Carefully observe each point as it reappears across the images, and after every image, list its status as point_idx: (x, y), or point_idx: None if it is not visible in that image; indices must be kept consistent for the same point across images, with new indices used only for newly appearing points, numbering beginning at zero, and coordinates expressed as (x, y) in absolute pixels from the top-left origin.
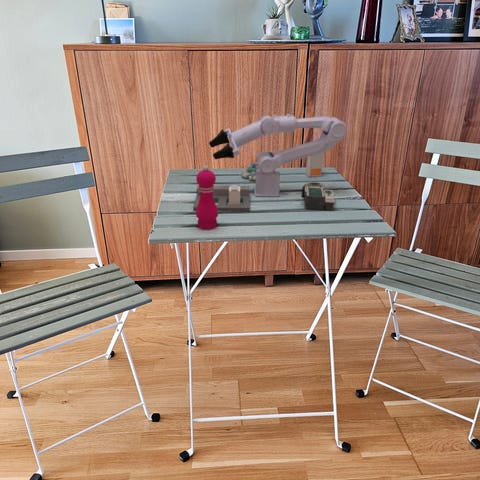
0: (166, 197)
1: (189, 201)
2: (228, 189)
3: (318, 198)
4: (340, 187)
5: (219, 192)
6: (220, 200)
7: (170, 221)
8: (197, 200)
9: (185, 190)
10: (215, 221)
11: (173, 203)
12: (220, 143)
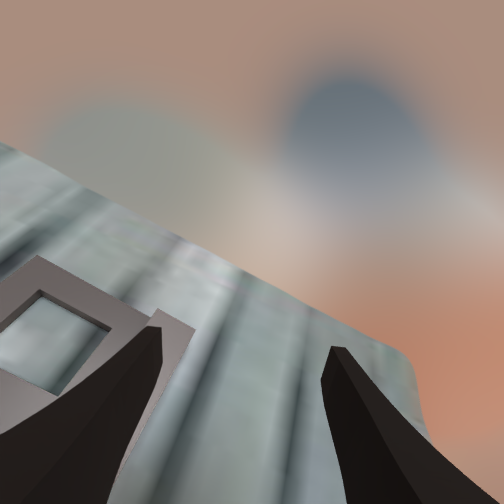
0: (208, 253)
1: (140, 292)
2: None
3: None
4: None
5: None
6: (15, 391)
7: (12, 178)
8: (96, 298)
9: (245, 322)
10: None
11: (152, 247)
12: (349, 489)
